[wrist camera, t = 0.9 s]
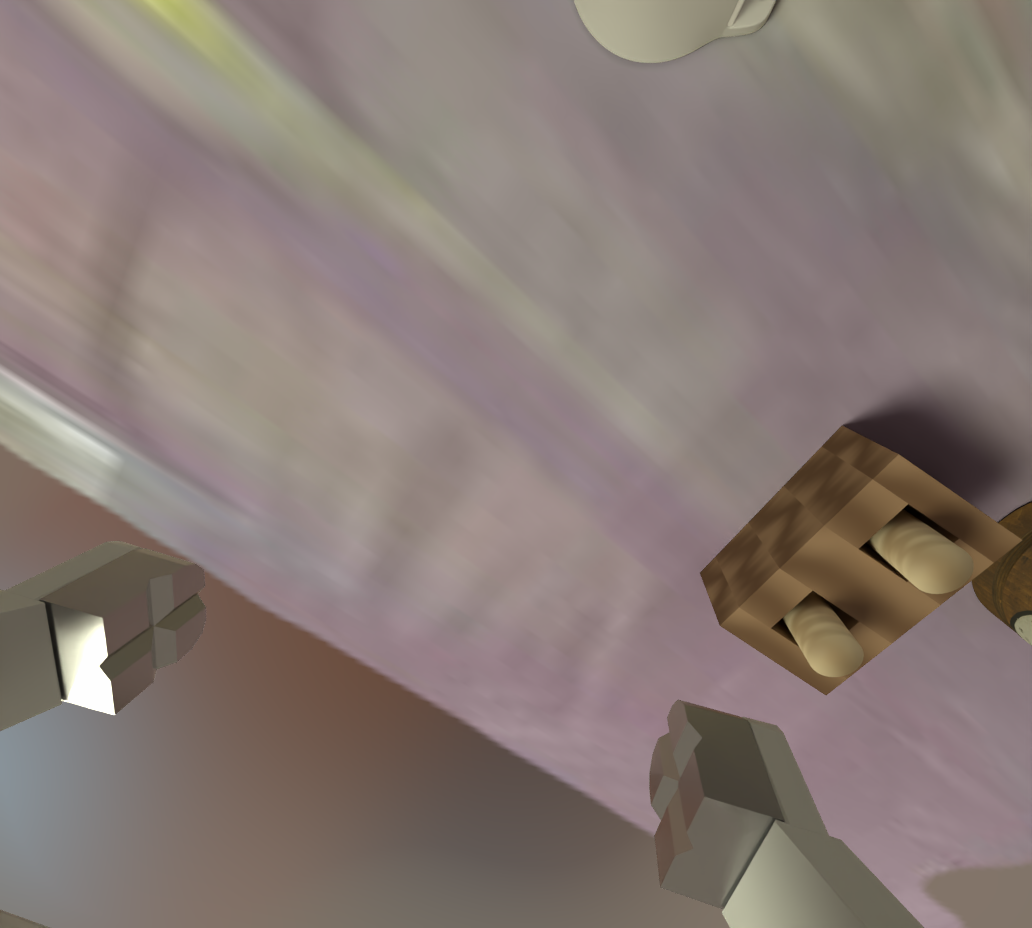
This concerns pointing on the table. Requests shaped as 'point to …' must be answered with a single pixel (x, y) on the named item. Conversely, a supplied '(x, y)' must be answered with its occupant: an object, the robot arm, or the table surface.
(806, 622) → the peg
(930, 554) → the peg
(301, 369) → the table surface
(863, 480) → the socket block
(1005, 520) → the wooden container
